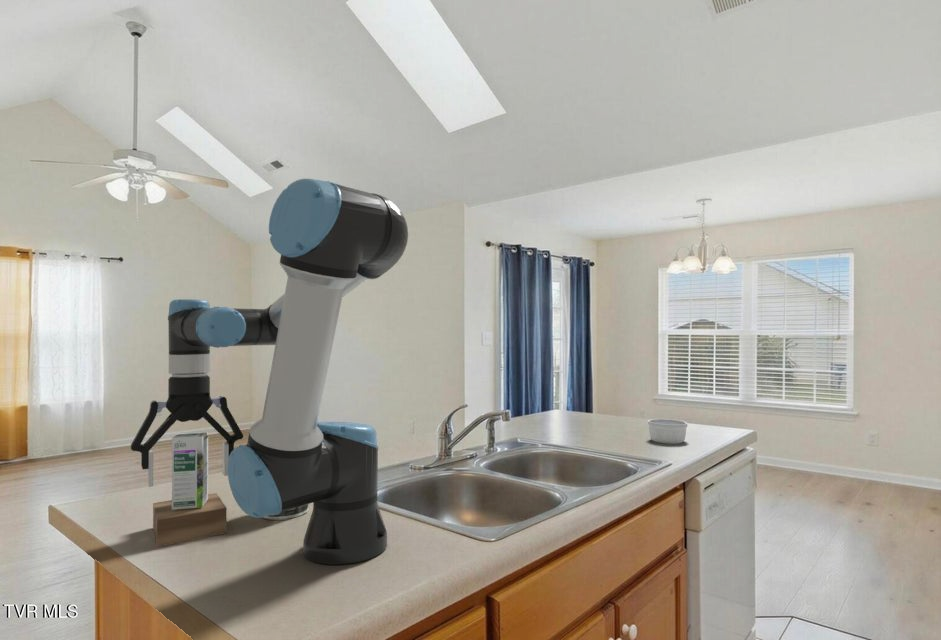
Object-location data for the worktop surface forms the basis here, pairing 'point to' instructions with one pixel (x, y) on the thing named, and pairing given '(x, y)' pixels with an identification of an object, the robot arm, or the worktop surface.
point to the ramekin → (667, 430)
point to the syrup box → (189, 470)
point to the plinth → (188, 521)
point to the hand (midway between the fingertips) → (189, 479)
